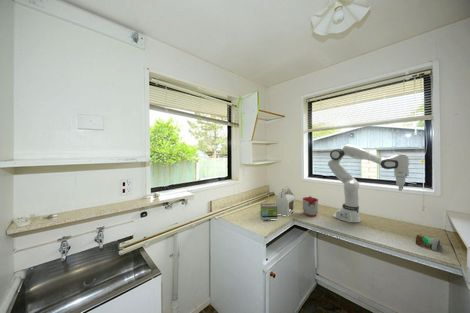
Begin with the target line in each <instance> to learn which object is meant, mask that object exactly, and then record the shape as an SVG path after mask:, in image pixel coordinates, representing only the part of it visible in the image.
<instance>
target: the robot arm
mask: <svg viewBox="0 0 470 313" xmlns="http://www.w3.org/2000/svg"><path fill="white" fill-rule="evenodd" d="M346 156H347V157H350V158H353V159H355V160H360V161H361V160H366V161H369V162H372V163H376V164H378V165H379V166H380V168H383V169H385V170H393V171H394V172H393V176H394V177H395V183H396V186H397V187H398V191H401V192H402V191H403V190H404V187H405V186H404V185H405V184H406V179H407V177H409V174H410V172H409V170H410V169H409V165H410V164H409V163H410V160H409V157H408V156H407V155H405V154H399V153H398V154H395V155H392V156H389V157H381V156H378V155H376V154H372V153H370V152H368V151H367V150H365V149H363V148H361V147H359V146H356V145H352V144H344V145H343V146H342V147H341V148H337V149H333V150H331V151H330V152H329V157H330V160H329V161H328V163H327V166H328V167H329V169H330V171H331V172H332V174H333V175H334V176H335V177H336V178H337V179H338V180H339V181H340V182H342V184H343V190H344V192H343V193H344V203H343V204H342V206H341V207H340V208H339V209H337V210H336V212H335V213H334V214H333V218H335V219H337V220H341V221H343V222H347V223H360V222H361V218H360V205H359V188H360V183H359V181H357V179H356V178H355V177H354V176H353V175H352V174H351V173H350V172H349V171H348V169H346V168H345V166H343V165H342V163H341V162H340V161H342V159H343V158H344V157H346Z"/></svg>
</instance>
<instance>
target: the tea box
mask: <svg viewBox="0 0 470 313" xmlns="http://www.w3.org/2000/svg"><path fill="white" fill-rule="evenodd" d="M260 218H262V219H261V221H262V220H271V219H277V220H278V215H277V206H276V202H275V203H260Z"/></svg>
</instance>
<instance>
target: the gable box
mask: <svg viewBox="0 0 470 313" xmlns="http://www.w3.org/2000/svg"><path fill="white" fill-rule="evenodd" d="M275 205H276V206H277V214H281V215H286V216H288V215H289V214H291V213H292V212H293V211H294V210H296V209H295V208H296V207H295V205H296V204H295V195H294V193H293V192H292V191H291V189H290V187H289V186H285V187H283V188H282V189H281V191H280V193H279V194H278V195H277V197H276V198H275ZM289 209H291V211H290V212H289ZM294 212H295V211H294ZM294 212H293V213H294ZM293 213H292V214H293ZM292 214H291V215H292ZM281 215H280V216H281ZM289 216H290V215H289ZM289 216H288V217H289Z"/></svg>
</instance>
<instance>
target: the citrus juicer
mask: <svg viewBox="0 0 470 313" xmlns="http://www.w3.org/2000/svg"><path fill="white" fill-rule="evenodd" d="M301 199H302V210H303V213H304V215H305V216H307V217H316V216H317V215H318V211H319V199H318V198H315V197H313V196H312V195H309V196H305V197H302V198H301Z"/></svg>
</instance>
